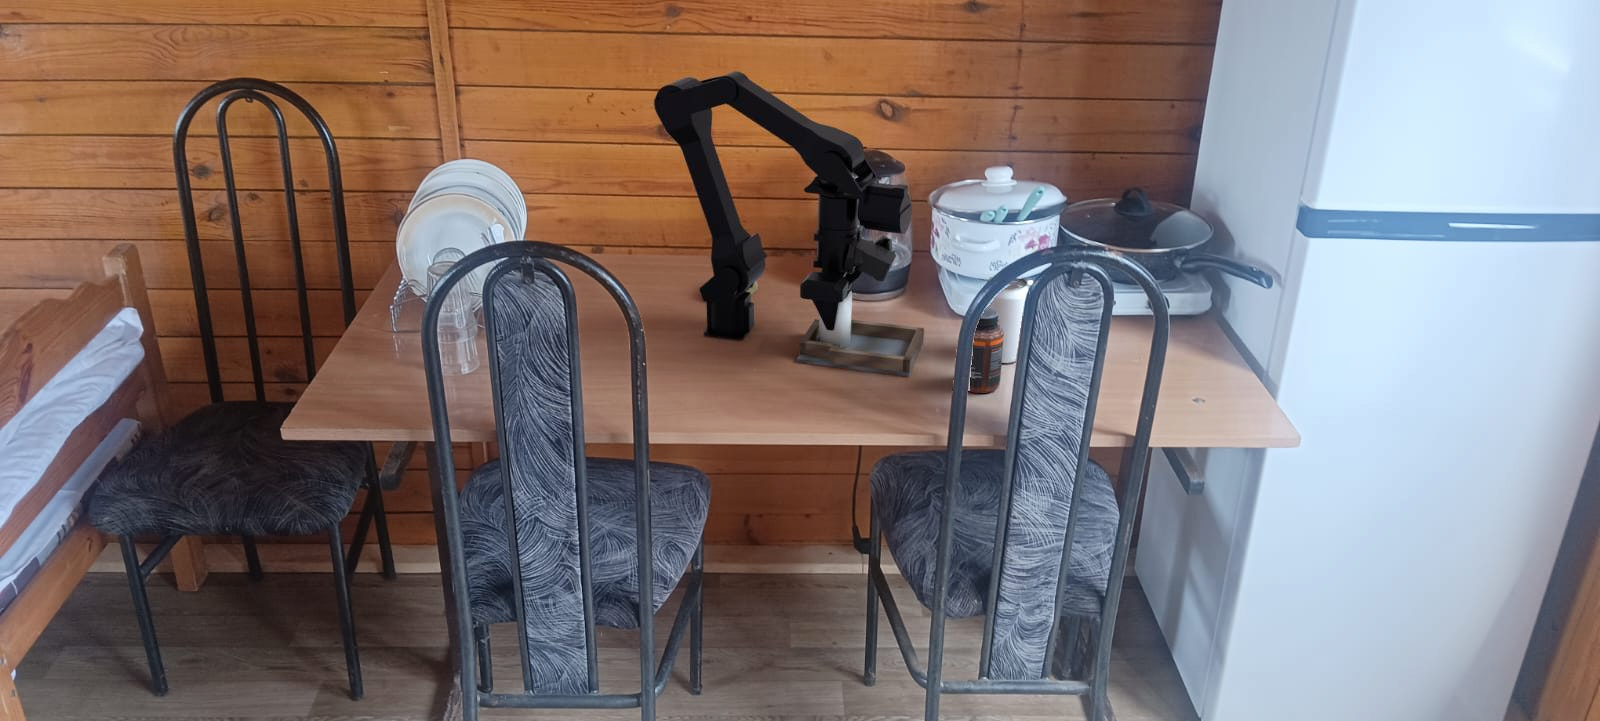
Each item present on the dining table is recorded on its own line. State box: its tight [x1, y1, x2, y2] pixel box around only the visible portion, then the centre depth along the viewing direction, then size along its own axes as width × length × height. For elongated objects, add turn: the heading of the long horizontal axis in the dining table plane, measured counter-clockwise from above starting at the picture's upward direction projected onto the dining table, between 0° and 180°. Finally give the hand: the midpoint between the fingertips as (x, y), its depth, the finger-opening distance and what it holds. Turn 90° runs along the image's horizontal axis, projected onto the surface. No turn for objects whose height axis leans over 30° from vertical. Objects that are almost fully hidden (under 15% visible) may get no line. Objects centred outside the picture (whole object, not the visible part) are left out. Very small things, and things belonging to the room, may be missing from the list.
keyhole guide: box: [796, 318, 925, 377], centre depth 173 cm, size 17×12×3 cm
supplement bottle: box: [969, 308, 1004, 394], centre depth 161 cm, size 6×6×11 cm
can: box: [987, 275, 1029, 365], centre depth 170 cm, size 6×6×12 cm
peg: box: [818, 289, 853, 348], centre depth 172 cm, size 5×5×8 cm
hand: (834, 323), depth 172 cm, fingers closed on peg, 5 cm apart
